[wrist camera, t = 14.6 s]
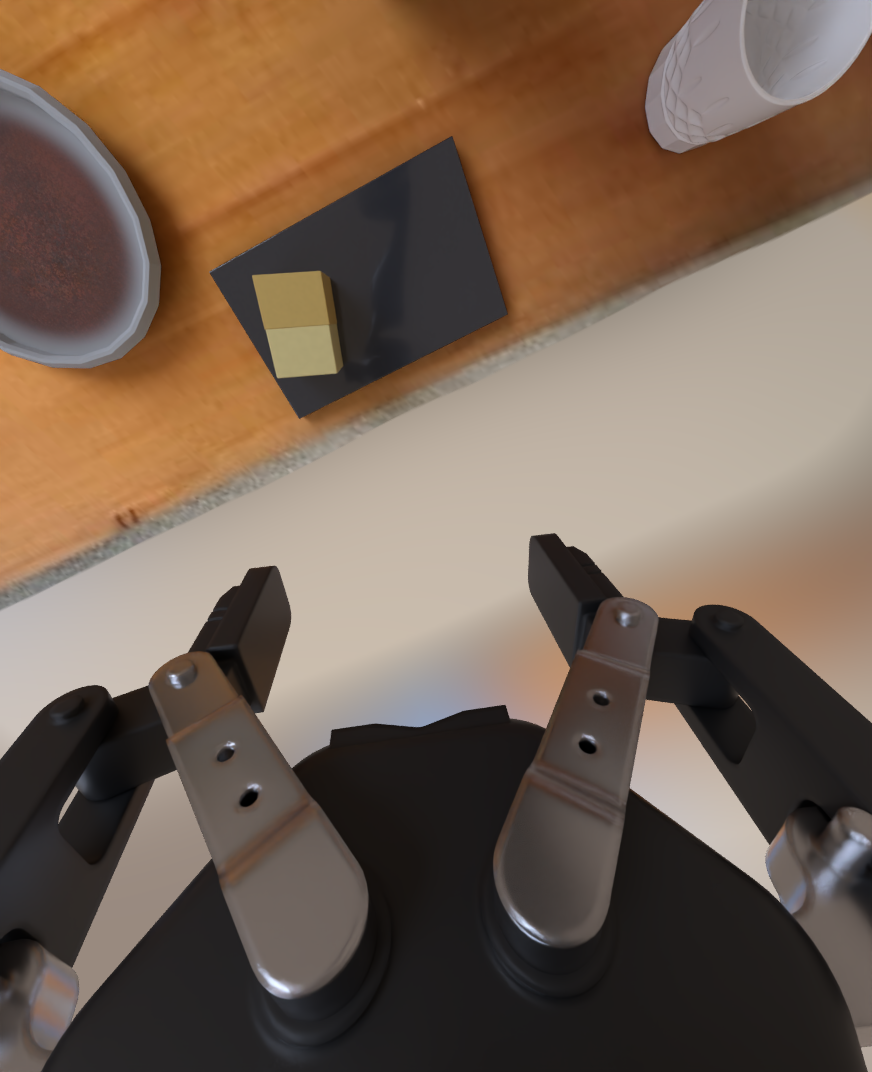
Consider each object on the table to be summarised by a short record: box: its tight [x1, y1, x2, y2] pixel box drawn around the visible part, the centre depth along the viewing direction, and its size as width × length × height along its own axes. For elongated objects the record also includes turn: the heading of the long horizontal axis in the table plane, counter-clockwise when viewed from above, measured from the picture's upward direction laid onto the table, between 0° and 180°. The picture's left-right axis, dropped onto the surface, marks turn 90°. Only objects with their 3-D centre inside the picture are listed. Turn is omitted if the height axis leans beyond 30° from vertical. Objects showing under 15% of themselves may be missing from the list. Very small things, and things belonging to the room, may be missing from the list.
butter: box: [252, 271, 343, 378], centre depth 31 cm, size 4×6×5 cm
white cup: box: [645, 0, 872, 153], centre depth 25 cm, size 8×8×10 cm
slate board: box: [210, 136, 508, 419], centre depth 33 cm, size 20×12×1 cm, turn 114°
